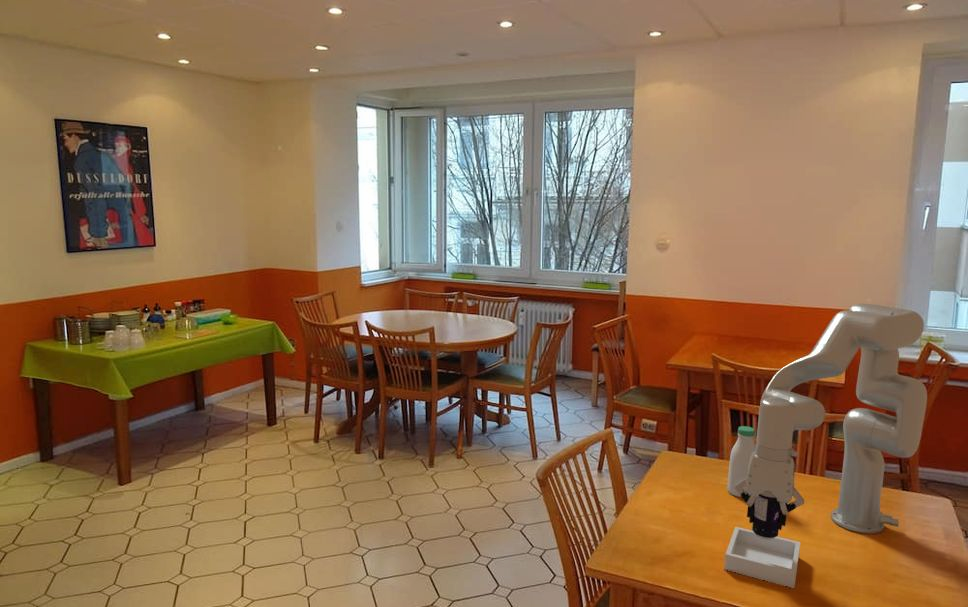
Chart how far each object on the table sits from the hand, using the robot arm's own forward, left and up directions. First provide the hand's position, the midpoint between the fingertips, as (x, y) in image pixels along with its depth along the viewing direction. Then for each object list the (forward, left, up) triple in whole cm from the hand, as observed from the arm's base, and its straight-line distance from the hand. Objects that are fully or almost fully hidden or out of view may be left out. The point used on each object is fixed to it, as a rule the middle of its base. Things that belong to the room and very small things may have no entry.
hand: (765, 523), depth 157 cm
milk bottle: (+10, -38, -11) cm, 41 cm away
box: (0, 0, -10) cm, 10 cm away
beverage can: (0, 0, -3) cm, 3 cm away
